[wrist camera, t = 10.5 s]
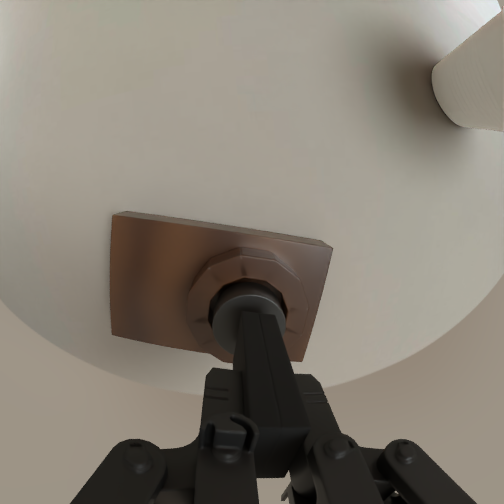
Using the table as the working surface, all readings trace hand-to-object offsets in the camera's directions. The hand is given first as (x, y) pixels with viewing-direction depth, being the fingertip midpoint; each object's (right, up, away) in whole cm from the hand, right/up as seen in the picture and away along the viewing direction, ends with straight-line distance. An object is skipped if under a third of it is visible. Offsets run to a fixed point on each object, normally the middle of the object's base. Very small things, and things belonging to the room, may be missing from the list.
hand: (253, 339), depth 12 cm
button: (0, +1, +3) cm, 3 cm away
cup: (+17, +18, +4) cm, 25 cm away
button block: (-3, +2, +6) cm, 7 cm away
